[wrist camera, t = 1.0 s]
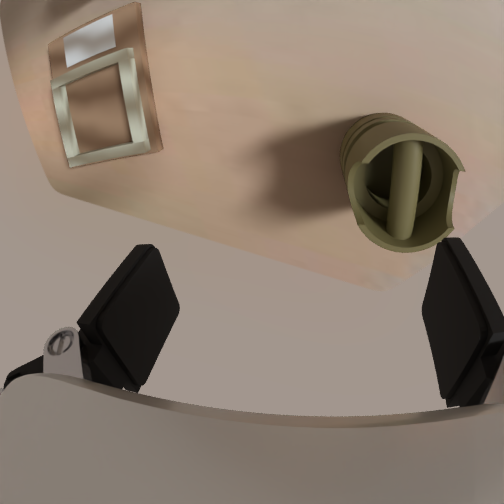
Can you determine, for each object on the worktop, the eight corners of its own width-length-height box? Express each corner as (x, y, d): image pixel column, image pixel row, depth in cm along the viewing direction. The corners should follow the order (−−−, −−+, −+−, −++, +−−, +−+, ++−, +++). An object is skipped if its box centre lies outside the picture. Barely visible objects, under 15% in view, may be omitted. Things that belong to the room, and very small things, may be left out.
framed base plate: (54, 43, 30) (41, 44, 27) (140, 3, 26) (128, 0, 24) (78, 164, 41) (66, 171, 39) (163, 148, 38) (152, 155, 35)
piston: (475, 141, 19) (454, 253, 25) (429, 117, 29) (421, 202, 35) (352, 128, 21) (347, 251, 28) (339, 110, 31) (339, 199, 37)
